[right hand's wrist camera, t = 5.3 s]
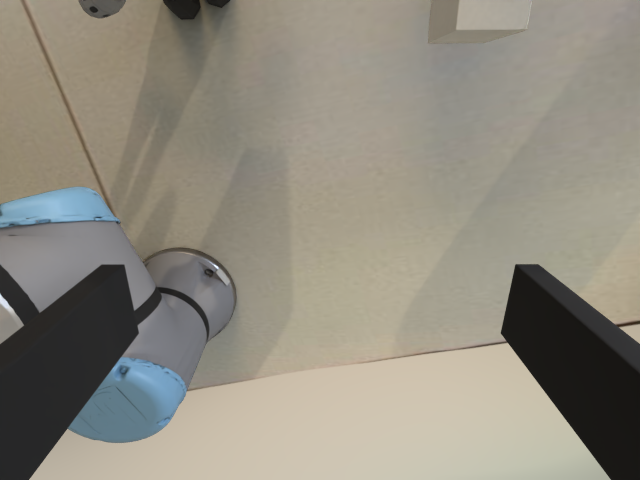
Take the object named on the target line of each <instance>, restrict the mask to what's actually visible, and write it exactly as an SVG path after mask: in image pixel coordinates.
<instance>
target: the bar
mask: <svg viewBox="0 0 640 480" xmlns="http://www.w3.org/2000/svg"><path fill="white" fill-rule="evenodd" d="M531 3H532V0H431V11H430V23H429V34H428V43H486V42H489V41H492V40H495V39H499V38H502V37H505V36H508V35H512V34H515V33H518V32H522V31H525V30H527V26H528V20H529V14H530V8H531Z"/></svg>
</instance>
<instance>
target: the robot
mask: <svg viewBox="0 0 640 480" xmlns="http://www.w3.org/2000/svg"><path fill="white" fill-rule="evenodd" d="M163 1H164V3H165V5H166V6H167V7H168V8H169V9H170V10H171V11H172V12H173V13H175V14H176V15H177V16H178V17H179V18H180V19H194V18H195V16H196V14H197V13H198V11H199V9H200V3H199V0H163ZM206 1H207V2H208V3H209V4H211V5H214V6H218V7H221V8H222V7H223V6H224V5H226V4H227V3H228V2H229V1H230V0H206ZM125 2H126V0H79V3H80V5H81V7H82V8H83V10H84V11H85V12H86V13H88V14H89V15H90V16H93V17H96V18H105V17H108V16H111V15H113V14H115V13H117V12H119V10H120V9H121V8H122V7H123V5H124V4H125Z"/></svg>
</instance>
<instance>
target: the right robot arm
mask: <svg viewBox="0 0 640 480" xmlns="http://www.w3.org/2000/svg"><path fill="white" fill-rule="evenodd" d="M120 223H121V222H120V221H119V219H118V218H116V217H114V215H113V214H112V212H111V211H110V209H109V208H108V206H107V205H106V203H105V202H104V200H103V199H102V197H101V196H100V195H99V194H98V193H97V192H96V191H94V190H92V189H90V188H86V187H70V188H64V189H59V190H54V191H50V192H45V193H41V194H37V195H33V196H29V197H25V198H21V199H17V200H13V201H10V202H6V203H3V204H0V480H29V479H30V478H31V476H32V475H33V474H34V472H35V471H36V470H37V468H38V467H39V466H40V464H41V463H42V462H43V460H44V459H45V458H46V456H47V455H48V454H49V452H50V451H51V450H52V448H53V447H54V446H55V444H56V443H57V442H58V440H59V439H60V438H61V436H62V435H63V434H64V432H65V431H66V430H67V429H69V430H71V431H72V432H74V433H76V434H79V435H81V436H83V437H86V438H89V439H93V440H101V441H104V442H111V443H125V442H133V441H138V440H141V439H145V438H147V437H150V436H152V435H154V434H156V433H157V432H159V431H160V430H162V429H163V428H164V427H165V426H166V425H167V424H168V423H169V421H170V420H171V419H172V417H173V415H174V414H175V412H176V410H177V408H178V406H179V404H180V403H181V402H182V401H183V399H184V397H185V395H186V391H187V389H188V387H189V384H190V382H191V379H192V377H193V374H194V372H195V369H196V367H197V365H198V362H199V360H200V357H201V355H202V352H203V350H204V348H205V345H206V343H207V342H208V341H209V340H210V339H211V338H213V337H214V336H216V335H217V334H218V333H220V332H221V331H222V330H223V329H224V328H225V327H226V325H227V324H228V322H229V321H230V319H231V317H232V314H233V312H234V309H235V305H236V289H235V286H234V283H233V280H232V278H231V276H230V275H229V273H228V272H227V270H226V269H225V268H224V267H223V266H222V265H221V264H220V263H219V262H218V261H216V260H215V259H214V258H212V257H211V256H209V255H207V254H205V253H203V252H200V251H197V250H194V249H189V248H170V249H166V250H162V251H159V252H157V253H155V254H153V255H152V256H150V257H149V258H148V259H147V260H146V261H145V262H144V263H143V262H142V261H141V259H140V257H139V256H138V254H137V252H136V251H135V249H134V247H133V246H132V244H131V242H130V241H129V239H128V238H127V236H126V234H125V233H124V231H123V229H122V228H121V226H120ZM501 334H502V335H503V337H504V338H505V339H506V341H507V342H508V343H509V345H510V346H511V347H512V349H513V350H514V351H515V353H516V354H517V355H518V357H519V358H520V359H521V361H522V362H523V363H524V365H525V366H526V367H527V369H528V370H529V371H530V373H531V374H532V375H533V377H534V378H535V379H536V381H537V382H538V383H539V385H540V386H541V387H542V389H543V390H544V391H545V393H546V394H547V395H548V397H549V398H550V399H551V401H552V402H553V403H554V404H555V406H556V407H557V408H558V410H559V411H560V413H561V414H562V415H563V416H564V418H565V419H566V420H567V422H568V423H569V424H570V426H571V427H572V428H573V430H574V431H575V432H576V434H577V435H578V436H579V438H580V439H581V440H582V442H583V443H584V444H585V446H586V447H587V448H588V450H589V451H590V452H591V454H592V455H593V456H594V458H595V459H596V460H597V462H598V463H599V464H600V466H601V467H602V468H603V470H604V471H605V472H606V474H607V475H608V476H609V478H610V479H611V480H640V344H639V343H638V342H636V341H635V340H634V339H633V338H631V337H630V336H629V335H628V334H626V333H625V332H624V331H623V330H621V329H620V328H619V327H617V326H616V325H615V324H614V323H612V322H611V321H610V320H608V319H607V318H606V317H605V316H603V315H602V314H601V313H600V312H598V311H597V310H596V309H594V308H593V307H592V306H591V305H589V304H588V303H587V302H586V301H584V300H583V299H582V298H580V297H579V296H578V295H577V294H575V293H574V292H573V291H572V290H570V289H569V288H568V287H566V286H565V285H564V284H563V283H561V282H560V281H559V280H558V279H556V278H555V277H554V276H552V275H551V274H550V273H549V272H547V271H546V270H545V269H544V268H542V267H541V266H540V265H538V264H516V265H515V269H514V274H513V279H512V283H511V288H510V293H509V297H508V302H507V307H506V311H505V316H504V321H503V326H502V330H501Z"/></svg>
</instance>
